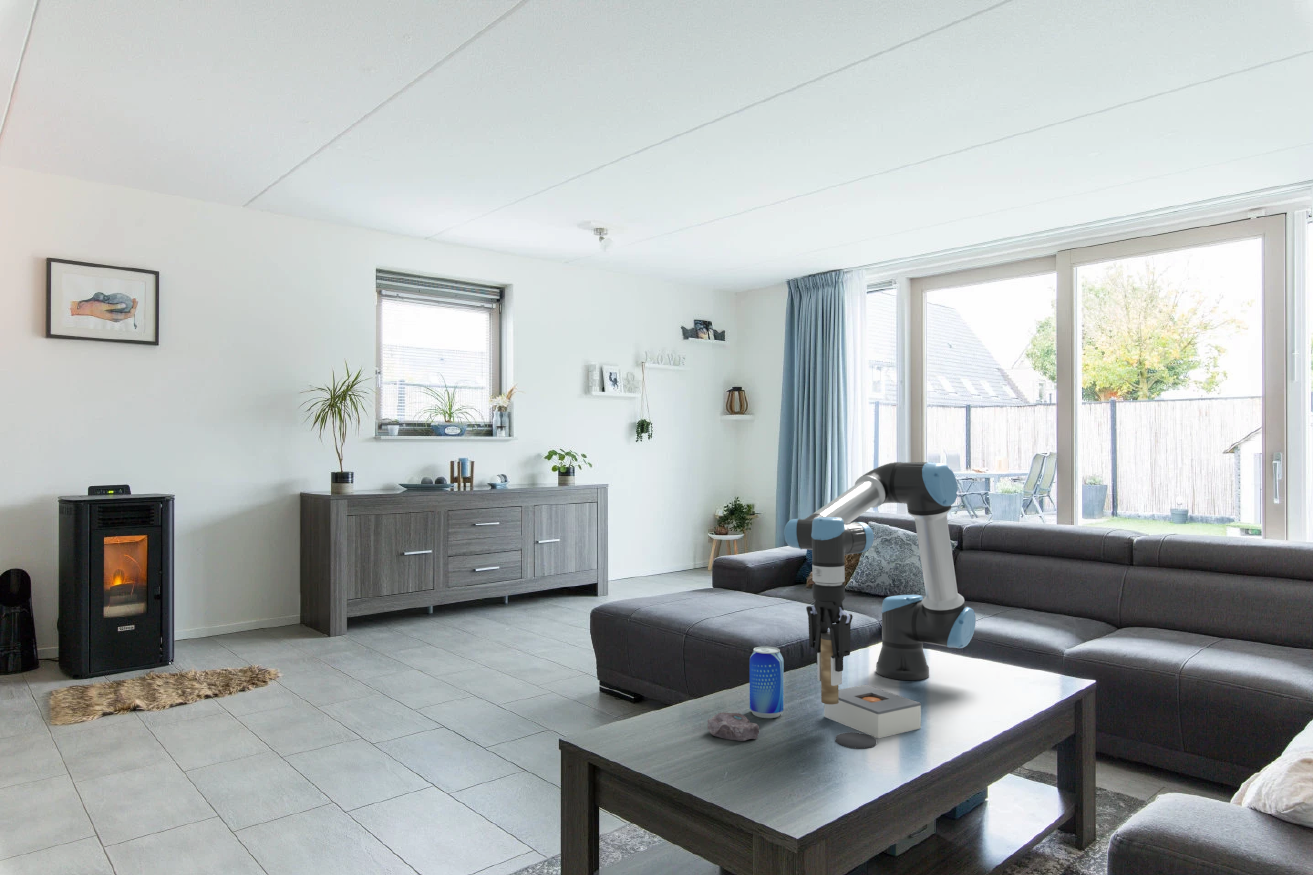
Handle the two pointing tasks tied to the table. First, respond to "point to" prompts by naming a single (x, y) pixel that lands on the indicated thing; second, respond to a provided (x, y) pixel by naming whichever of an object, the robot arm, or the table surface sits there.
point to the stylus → (827, 672)
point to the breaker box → (875, 711)
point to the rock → (732, 727)
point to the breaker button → (871, 699)
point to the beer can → (766, 682)
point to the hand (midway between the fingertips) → (829, 681)
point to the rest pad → (856, 740)
